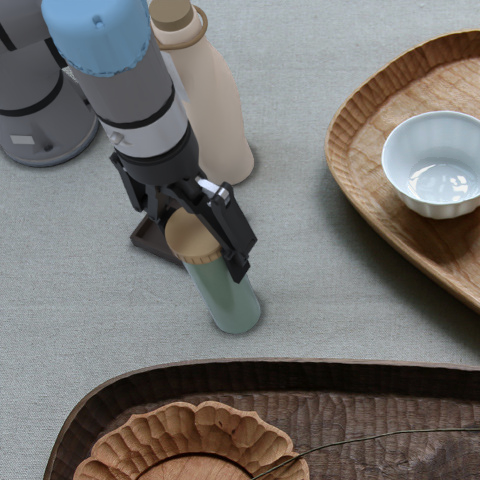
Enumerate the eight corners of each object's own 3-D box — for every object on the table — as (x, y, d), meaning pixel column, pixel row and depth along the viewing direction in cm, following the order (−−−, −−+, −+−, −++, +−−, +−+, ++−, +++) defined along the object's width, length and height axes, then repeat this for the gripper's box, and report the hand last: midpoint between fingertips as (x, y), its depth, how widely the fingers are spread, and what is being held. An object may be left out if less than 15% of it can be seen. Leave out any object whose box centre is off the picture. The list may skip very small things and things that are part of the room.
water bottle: (247, 201, 117) (192, 49, 91) (188, 192, 118) (117, 40, 92) (266, 144, 120) (218, -17, 94) (208, 137, 121) (146, -25, 96)
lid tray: (134, 245, 115) (128, 237, 113) (173, 191, 118) (169, 182, 116) (206, 277, 112) (202, 269, 110) (244, 221, 115) (241, 213, 113)
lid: (245, 225, 93) (241, 216, 92) (210, 274, 91) (205, 266, 89) (192, 201, 95) (188, 192, 93) (156, 249, 93) (151, 240, 91)
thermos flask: (205, 323, 109) (160, 244, 92) (228, 285, 111) (189, 201, 94) (246, 340, 108) (208, 264, 90) (269, 302, 110) (236, 220, 92)
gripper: (39, 122, 77) (124, 253, 99) (220, 198, 73) (269, 318, 94) (84, 67, 80) (159, 207, 101) (263, 138, 75) (301, 268, 97)
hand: (212, 260), depth 97 cm, fingers open, 8 cm apart
